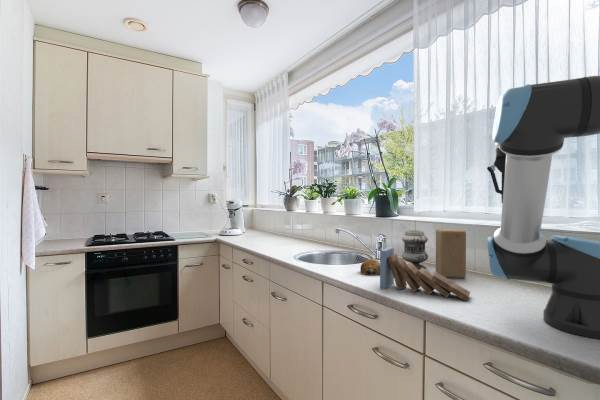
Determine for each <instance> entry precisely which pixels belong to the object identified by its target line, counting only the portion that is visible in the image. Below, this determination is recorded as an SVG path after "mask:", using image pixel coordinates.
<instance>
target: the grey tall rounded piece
mask: <svg viewBox="0 0 600 400" xmlns="http://www.w3.org/2000/svg"><path fill="white" fill-rule="evenodd" d="M428 240H429V239H428V237H427V236H426V233H425V231H424V230H420V229H409V230H407V229H406V230H405V233H404V234H403V235H402V237H401V241H402V242H403V244H404V245H403V246H404V247H403V248H404V251H403V252H402V253H401V258H403V259H404V261H405V262H408V263H410V262H411V263H412V264H413V265H414V266H415V267H416V268H417V269H418V270H420V269H421V268H422V267H423V268H424V269H425V270H427V268H426V266H425V265H423V264H421V263H423V262H426V261H427V260H428V259H429V255H428V253H427V252H426V244H427V242H428Z"/></svg>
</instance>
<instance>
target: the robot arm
mask: <svg viewBox="0 0 600 400" xmlns="http://www.w3.org/2000/svg"><path fill="white" fill-rule="evenodd" d="M496 104H497V105H496V107H495V114H494V116H493V126H492V134H491V135H492V136H491V137H492V141H493V143H495V147H496V148H495V160H494V161H493V164H492V165H490V166H487V167H486V169H487V171H488V172H489V173H490V177H491V179H492V184H493V187H494V190H495V192H496V194H499V195H501V218H500V220H501V221H500V227H499V228H497V229H496V230H495V231H494V233H493V236H488V237H487V239H486V243H487V253H488V262H489V266H490V267H489V268H490V273H491V274H492V275H493V276H494V277H496V278H498V279H499V278H500V279H505V280H514V281H524V282H534V283H544V284H551V293H550V296H549V298H548V301H547V303H546V305H545V308H544V310H543V313H542V314H543V318H542V319H543V322H545V323H546V324H547V325H549V326H552V327H553V328H555V329H558V330H561V331H563V332H567V333H570V334H573V335H578V336H581V337H586V338H592V339H598V340H600V240H599V241H597V240H593V239H588V238H582V237H576V236H569V235H568V236H567V235H563V234H562V235H561V234H553V235H552V236H551V237H550V238H551V239H546V237H545V236H544V234H543V233H542V232H541V230H542V223H543V216H544V211H545V204H546V199H547V198H546V197H547V191H548V184H549V179H550V173H551V166H552V159H553V155H555V154H556V153H558V152H559V151H560V150H562V149H563V147H564V142H565V139H567V138H568V139H569V138H579V137H588V136H595V135H598V134H600V75H590V76H584V77H579V78H571V79H564V80H559V81H558V80H557V81H556V80H555V81H550V82H549V81H548V82H542V83H534V84H533V83H532V84H525V85H524V86H518V87H513V88H511V87H510V88H508V89H505V91H503V92H502V93H501V95H500V96H499V98H498V102H497V103H496ZM496 169H497V170H498V171H499V172H500V173H501V189H500V187H499V183H498V180H497V176H496V173H495V171H496Z"/></svg>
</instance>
